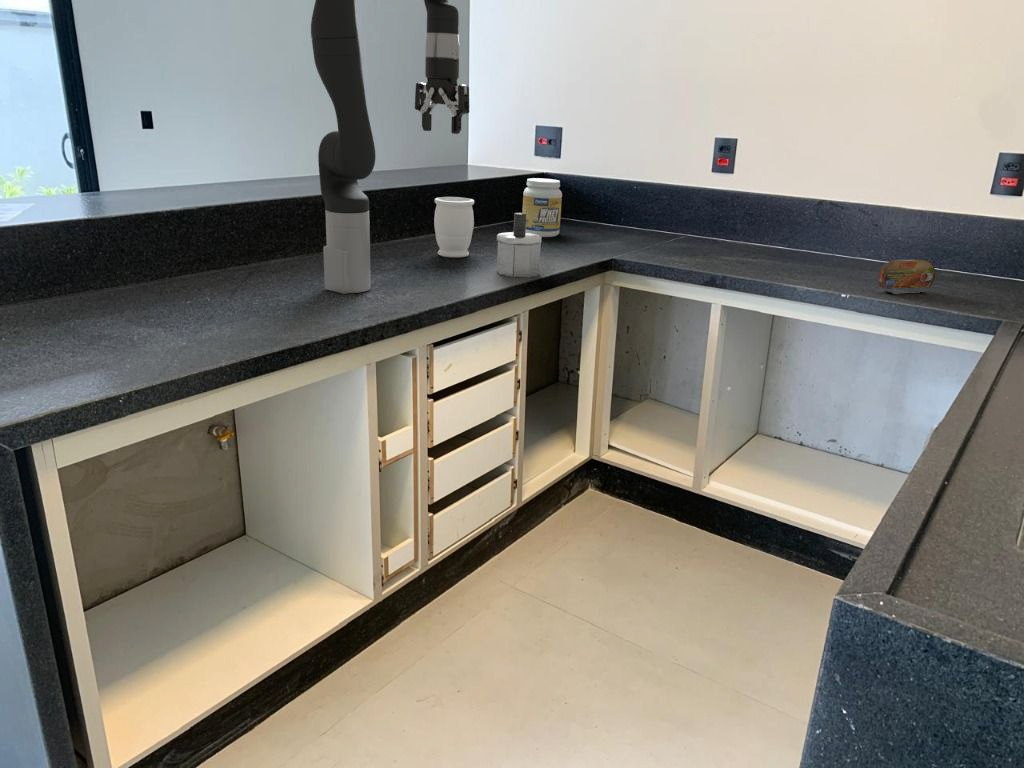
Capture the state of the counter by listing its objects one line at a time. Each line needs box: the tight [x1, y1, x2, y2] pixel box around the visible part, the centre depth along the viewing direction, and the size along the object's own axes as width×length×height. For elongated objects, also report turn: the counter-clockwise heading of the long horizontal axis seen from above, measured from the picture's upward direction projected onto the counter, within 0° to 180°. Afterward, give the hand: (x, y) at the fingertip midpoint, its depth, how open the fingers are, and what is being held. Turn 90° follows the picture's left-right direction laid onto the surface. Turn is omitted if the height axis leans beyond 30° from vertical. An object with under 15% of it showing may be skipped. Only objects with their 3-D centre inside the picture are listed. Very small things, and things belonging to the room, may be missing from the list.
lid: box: [496, 212, 543, 245], centre depth 194 cm, size 11×11×7 cm
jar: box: [433, 196, 475, 259], centre depth 213 cm, size 11×10×15 cm
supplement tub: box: [521, 177, 563, 238], centre depth 249 cm, size 12×12×17 cm
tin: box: [878, 259, 936, 289], centre depth 196 cm, size 15×3×8 cm, turn 105°
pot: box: [496, 241, 542, 279], centre depth 197 cm, size 10×10×8 cm
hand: (441, 132), depth 182 cm, fingers open, 8 cm apart
